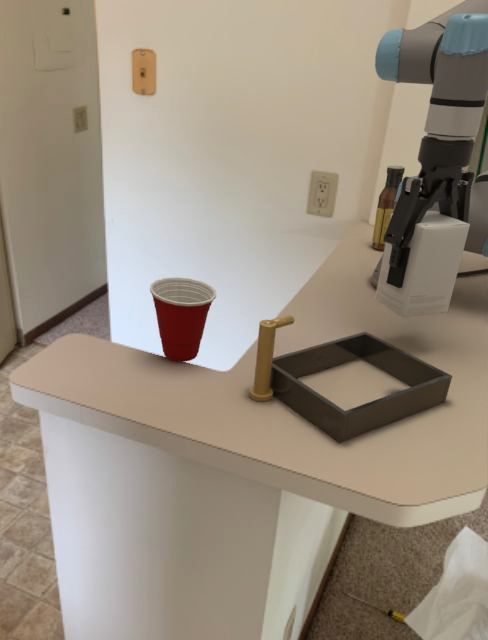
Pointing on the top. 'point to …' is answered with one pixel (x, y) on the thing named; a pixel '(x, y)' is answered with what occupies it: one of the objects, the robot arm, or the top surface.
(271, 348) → the sink
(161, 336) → the plastic cup
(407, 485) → the top surface
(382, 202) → the sauce bottle
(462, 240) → the rectangular carton
